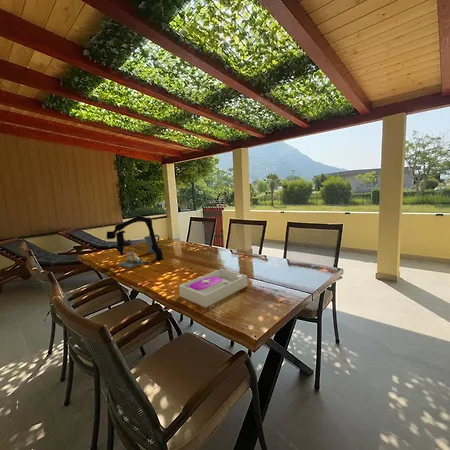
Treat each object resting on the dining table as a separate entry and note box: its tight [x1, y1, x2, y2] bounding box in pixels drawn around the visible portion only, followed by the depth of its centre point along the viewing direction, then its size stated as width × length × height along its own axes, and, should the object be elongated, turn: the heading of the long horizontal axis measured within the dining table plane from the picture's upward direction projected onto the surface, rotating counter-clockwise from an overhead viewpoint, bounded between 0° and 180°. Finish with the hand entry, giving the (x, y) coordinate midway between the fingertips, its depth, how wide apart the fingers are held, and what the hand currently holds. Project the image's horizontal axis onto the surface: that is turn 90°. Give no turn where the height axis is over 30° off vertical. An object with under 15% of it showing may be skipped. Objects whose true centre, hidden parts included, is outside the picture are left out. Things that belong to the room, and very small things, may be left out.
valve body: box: [125, 255, 142, 263], centre depth 211 cm, size 18×5×6 cm, turn 53°
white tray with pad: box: [178, 268, 248, 308], centre depth 143 cm, size 22×35×7 cm, turn 137°
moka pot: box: [143, 233, 160, 255], centre depth 246 cm, size 10×15×20 cm, turn 115°
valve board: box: [117, 259, 147, 269], centre depth 210 cm, size 18×16×2 cm
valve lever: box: [123, 251, 135, 256], centre depth 212 cm, size 13×2×2 cm, turn 74°
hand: (122, 255), depth 210 cm, fingers closed
